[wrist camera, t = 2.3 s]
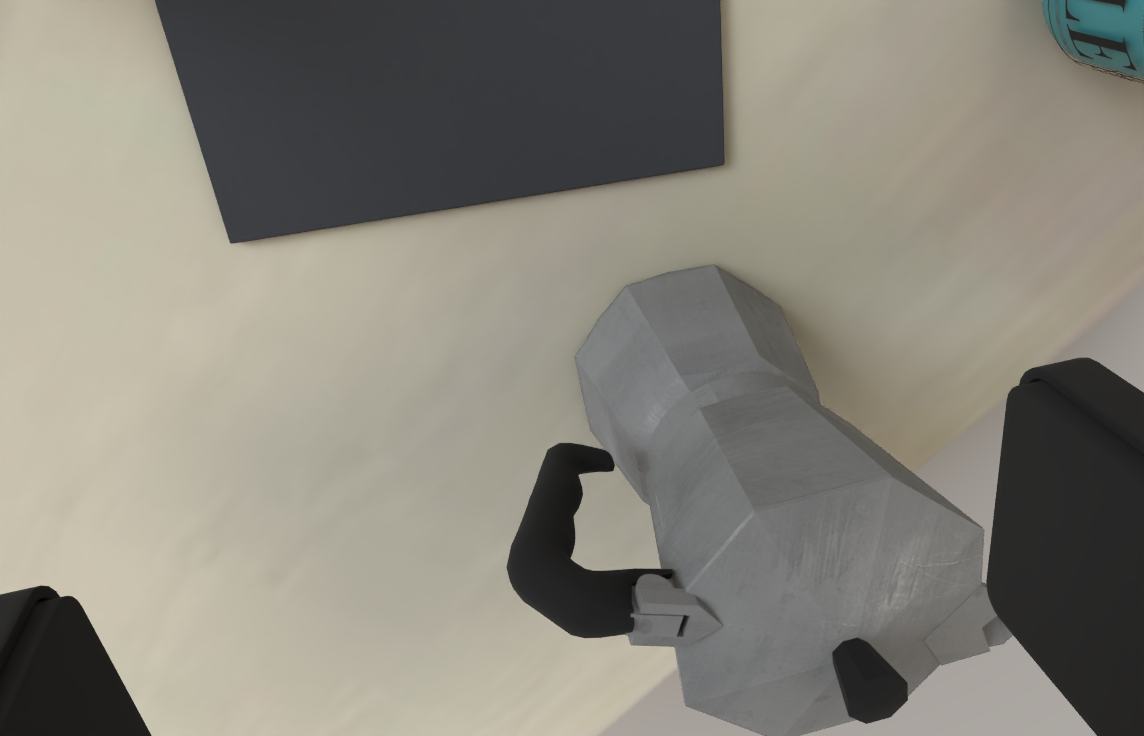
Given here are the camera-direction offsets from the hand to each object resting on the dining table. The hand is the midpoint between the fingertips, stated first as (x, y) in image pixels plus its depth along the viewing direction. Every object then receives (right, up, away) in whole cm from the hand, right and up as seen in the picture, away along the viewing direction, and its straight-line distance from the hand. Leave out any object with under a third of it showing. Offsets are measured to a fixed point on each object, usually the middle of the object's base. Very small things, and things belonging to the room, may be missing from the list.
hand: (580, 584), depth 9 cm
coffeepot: (+3, +3, +29) cm, 29 cm away
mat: (-4, +14, +21) cm, 25 cm away
